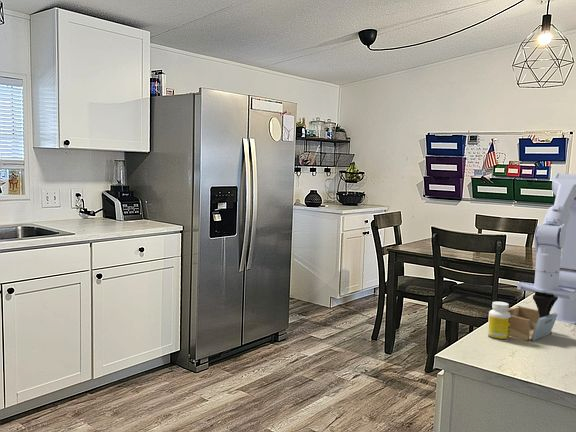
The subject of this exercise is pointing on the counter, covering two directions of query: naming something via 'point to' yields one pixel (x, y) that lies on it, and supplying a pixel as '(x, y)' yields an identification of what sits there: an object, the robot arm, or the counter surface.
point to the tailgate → (544, 326)
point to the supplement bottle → (499, 322)
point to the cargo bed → (523, 322)
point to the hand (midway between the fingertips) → (543, 321)
